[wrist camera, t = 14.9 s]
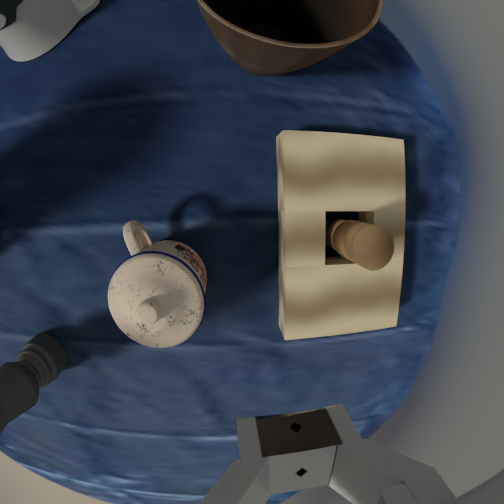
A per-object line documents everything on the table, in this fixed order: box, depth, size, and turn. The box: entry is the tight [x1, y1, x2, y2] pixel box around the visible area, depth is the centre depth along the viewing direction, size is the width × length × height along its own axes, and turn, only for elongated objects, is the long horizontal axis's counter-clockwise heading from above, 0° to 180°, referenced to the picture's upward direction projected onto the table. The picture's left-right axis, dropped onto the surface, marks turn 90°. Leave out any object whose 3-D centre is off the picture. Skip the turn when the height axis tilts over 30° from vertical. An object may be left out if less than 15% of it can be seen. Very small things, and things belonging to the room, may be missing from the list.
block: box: [276, 130, 406, 340], centre depth 34 cm, size 22×14×4 cm, turn 1°
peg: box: [325, 218, 394, 271], centre depth 31 cm, size 4×4×10 cm
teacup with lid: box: [108, 220, 207, 348], centre depth 29 cm, size 12×9×12 cm
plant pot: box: [196, 0, 383, 76], centre depth 23 cm, size 15×15×16 cm
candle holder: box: [0, 333, 67, 433], centre depth 23 cm, size 6×6×25 cm
